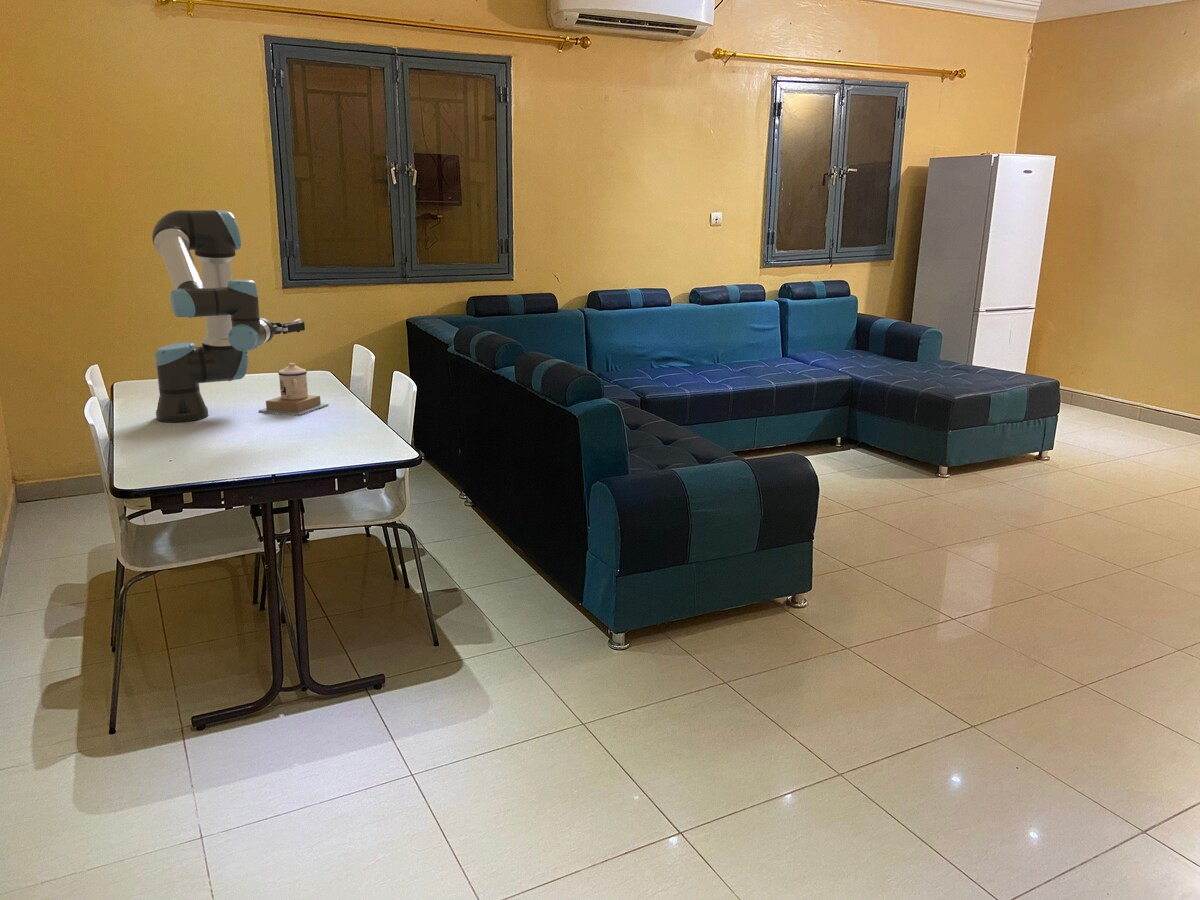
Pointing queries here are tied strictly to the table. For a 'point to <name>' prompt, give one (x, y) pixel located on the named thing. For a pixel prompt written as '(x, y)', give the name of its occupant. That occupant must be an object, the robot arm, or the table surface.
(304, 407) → the build base
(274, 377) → the table surface
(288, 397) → the teacup with lid
